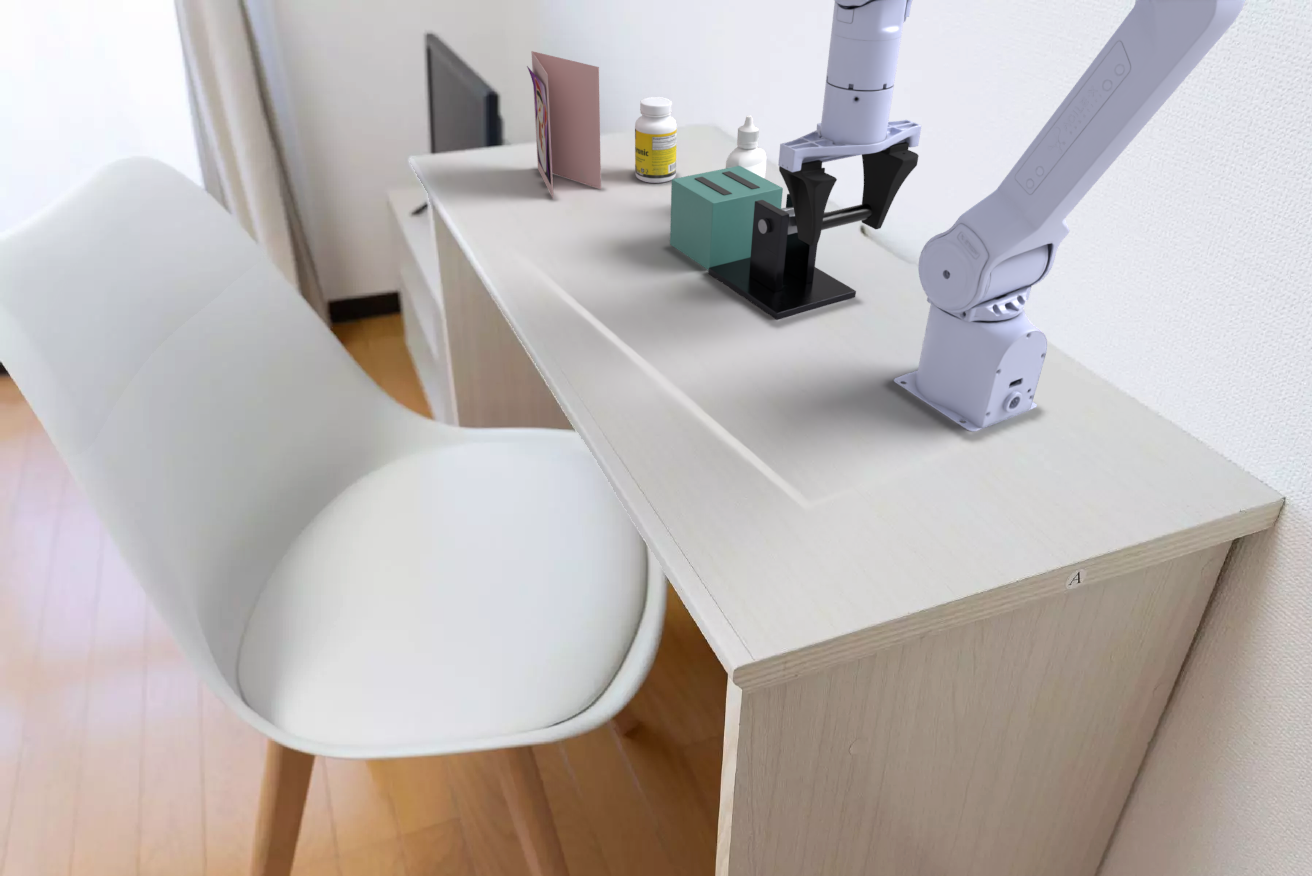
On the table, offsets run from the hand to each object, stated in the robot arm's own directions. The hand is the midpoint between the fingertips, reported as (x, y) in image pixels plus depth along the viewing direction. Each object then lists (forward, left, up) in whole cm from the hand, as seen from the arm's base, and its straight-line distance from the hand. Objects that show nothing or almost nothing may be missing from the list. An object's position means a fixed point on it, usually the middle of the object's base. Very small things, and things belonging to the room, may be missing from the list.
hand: (839, 233), depth 90 cm
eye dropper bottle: (+26, -8, -9) cm, 29 cm away
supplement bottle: (+43, -6, -9) cm, 44 cm away
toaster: (+18, 0, -9) cm, 21 cm away
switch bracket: (+8, 0, -9) cm, 12 cm away
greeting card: (+47, +5, -9) cm, 48 cm away
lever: (+4, 0, -1) cm, 4 cm away
